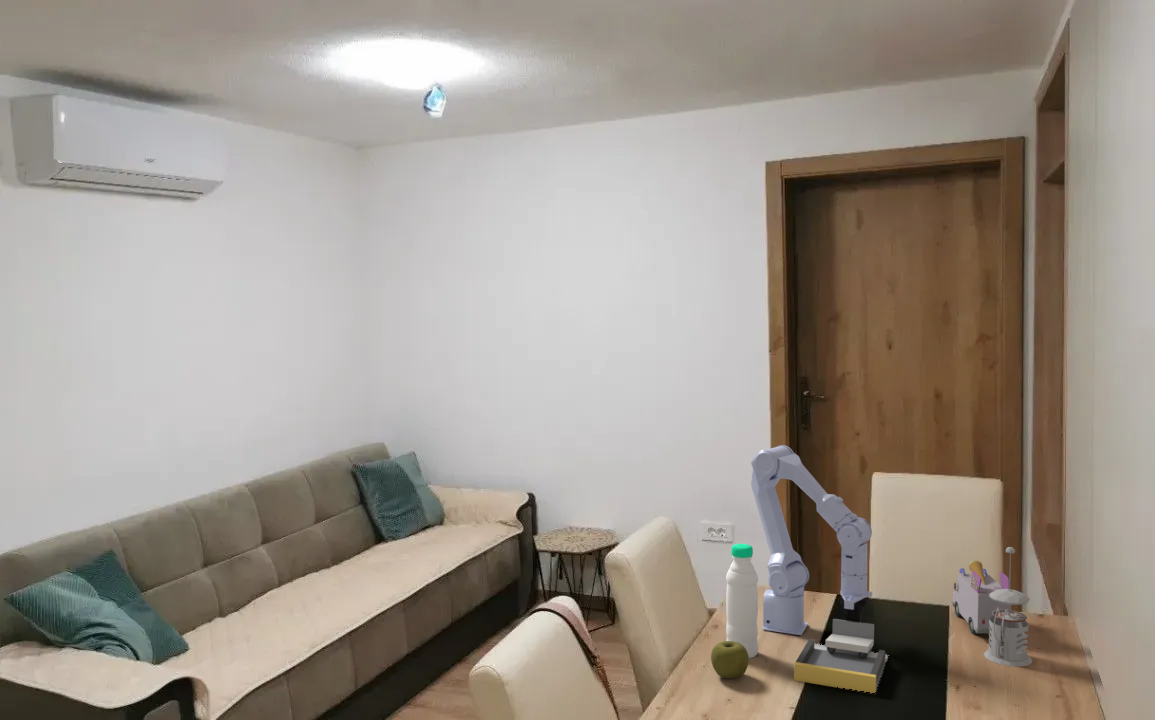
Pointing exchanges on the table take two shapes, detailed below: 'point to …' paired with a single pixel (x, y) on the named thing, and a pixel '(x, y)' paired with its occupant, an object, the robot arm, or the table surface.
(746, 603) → the water bottle
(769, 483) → the robot arm
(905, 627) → the table surface
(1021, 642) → the french press
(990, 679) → the table surface
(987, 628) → the toy vehicle
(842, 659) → the dock
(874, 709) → the table surface
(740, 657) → the apple
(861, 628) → the grey angled piece
